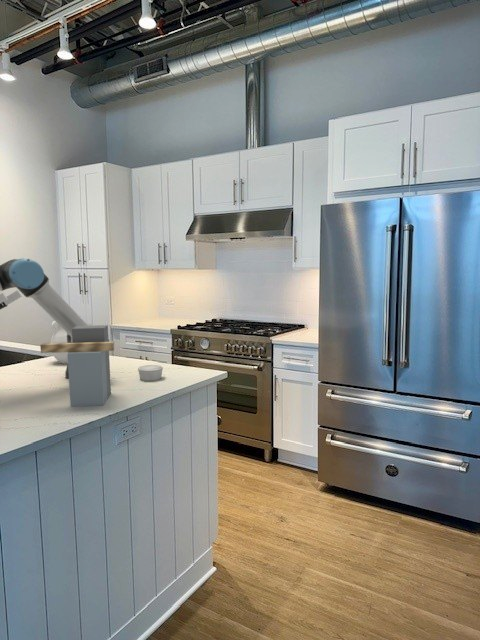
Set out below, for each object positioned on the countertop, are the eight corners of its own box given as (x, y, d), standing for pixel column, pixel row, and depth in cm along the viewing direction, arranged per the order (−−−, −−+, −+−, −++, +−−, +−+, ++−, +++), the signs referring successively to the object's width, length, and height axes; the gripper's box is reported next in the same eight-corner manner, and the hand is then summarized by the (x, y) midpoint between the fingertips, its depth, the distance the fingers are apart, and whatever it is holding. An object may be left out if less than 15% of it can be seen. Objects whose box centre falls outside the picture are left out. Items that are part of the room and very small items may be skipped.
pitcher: (79, 357, 263) (76, 313, 260) (93, 361, 249) (91, 316, 246) (45, 362, 250) (42, 316, 247) (59, 367, 237) (56, 319, 234)
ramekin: (157, 382, 205) (157, 370, 204) (134, 381, 207) (133, 369, 206) (166, 376, 216) (166, 365, 215) (144, 375, 218) (143, 364, 217)
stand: (70, 406, 171) (66, 331, 168) (80, 394, 187) (76, 325, 184) (103, 405, 172) (99, 330, 169) (111, 393, 188) (107, 325, 185)
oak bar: (40, 353, 170) (40, 344, 170) (43, 351, 173) (42, 343, 173) (112, 350, 173) (112, 342, 172) (114, 349, 176) (113, 341, 175)
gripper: (-64, 320, 155) (-9, 287, 155) (-29, 312, 179) (19, 284, 180) (-50, 338, 156) (4, 306, 156) (-17, 328, 181) (30, 300, 181)
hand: (12, 294), depth 168 cm, fingers open, 13 cm apart
